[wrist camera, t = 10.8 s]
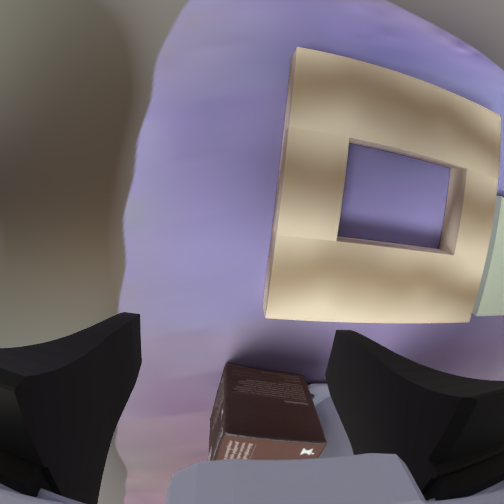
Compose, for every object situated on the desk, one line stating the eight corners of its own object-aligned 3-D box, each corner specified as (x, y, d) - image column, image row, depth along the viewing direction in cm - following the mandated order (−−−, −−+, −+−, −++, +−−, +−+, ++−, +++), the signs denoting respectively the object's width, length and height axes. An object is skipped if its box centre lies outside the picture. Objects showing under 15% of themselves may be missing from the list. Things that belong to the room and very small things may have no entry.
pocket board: (455, 312, 22) (468, 322, 20) (262, 305, 21) (265, 318, 19) (484, 117, 19) (500, 115, 17) (291, 58, 17) (297, 46, 16)
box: (225, 359, 22) (224, 431, 15) (306, 373, 23) (331, 442, 15) (209, 419, 23) (204, 490, 16) (281, 430, 24) (295, 498, 17)
